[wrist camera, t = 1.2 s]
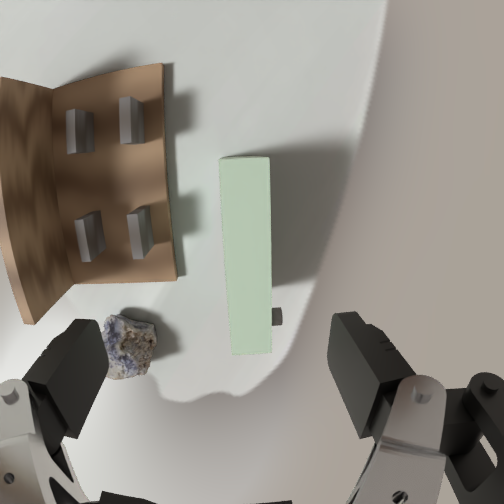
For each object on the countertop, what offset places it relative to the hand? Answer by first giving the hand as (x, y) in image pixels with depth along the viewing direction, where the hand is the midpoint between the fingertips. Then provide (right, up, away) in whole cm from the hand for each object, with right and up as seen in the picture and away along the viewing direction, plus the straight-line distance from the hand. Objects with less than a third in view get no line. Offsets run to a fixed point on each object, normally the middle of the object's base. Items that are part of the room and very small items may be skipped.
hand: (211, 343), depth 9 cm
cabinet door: (0, +6, +20) cm, 21 cm away
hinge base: (-14, +10, +17) cm, 25 cm away
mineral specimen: (-15, -8, +24) cm, 29 cm away
